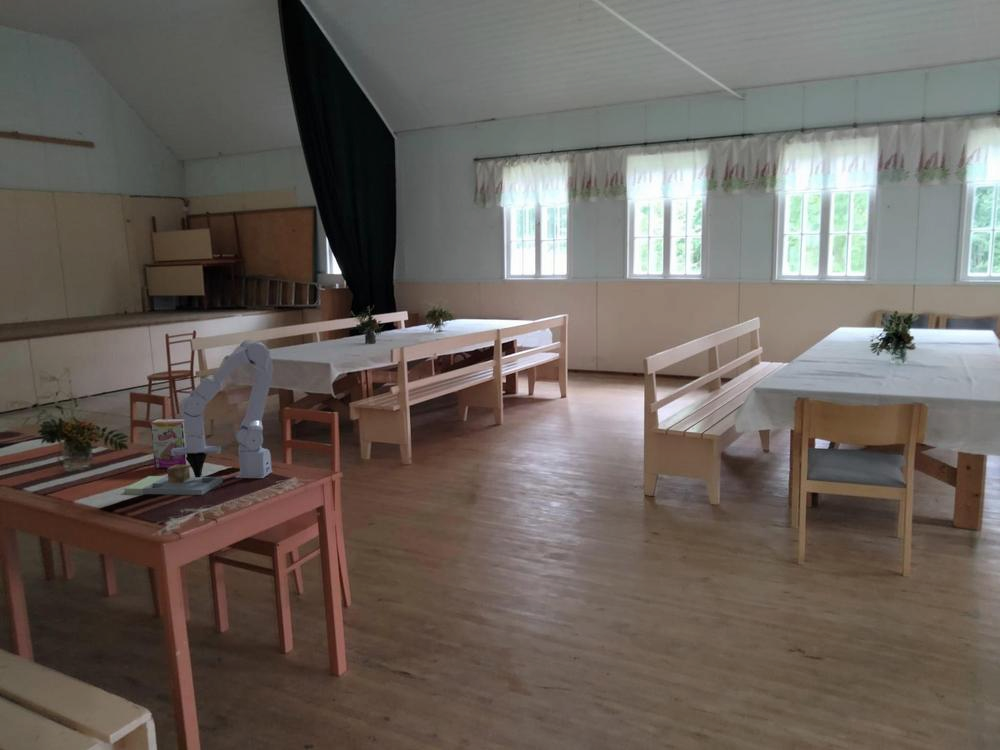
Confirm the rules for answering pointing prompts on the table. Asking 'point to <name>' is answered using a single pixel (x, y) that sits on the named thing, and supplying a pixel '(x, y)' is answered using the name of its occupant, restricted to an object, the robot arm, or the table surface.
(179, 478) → the walnut block
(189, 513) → the table surface
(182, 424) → the candy bar box
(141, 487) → the board
